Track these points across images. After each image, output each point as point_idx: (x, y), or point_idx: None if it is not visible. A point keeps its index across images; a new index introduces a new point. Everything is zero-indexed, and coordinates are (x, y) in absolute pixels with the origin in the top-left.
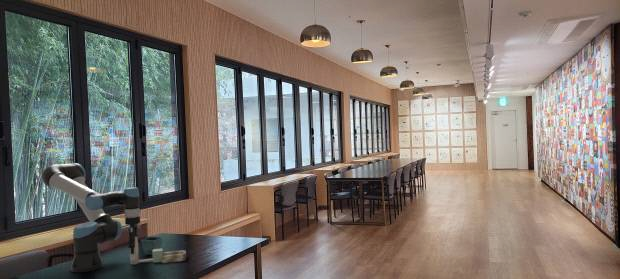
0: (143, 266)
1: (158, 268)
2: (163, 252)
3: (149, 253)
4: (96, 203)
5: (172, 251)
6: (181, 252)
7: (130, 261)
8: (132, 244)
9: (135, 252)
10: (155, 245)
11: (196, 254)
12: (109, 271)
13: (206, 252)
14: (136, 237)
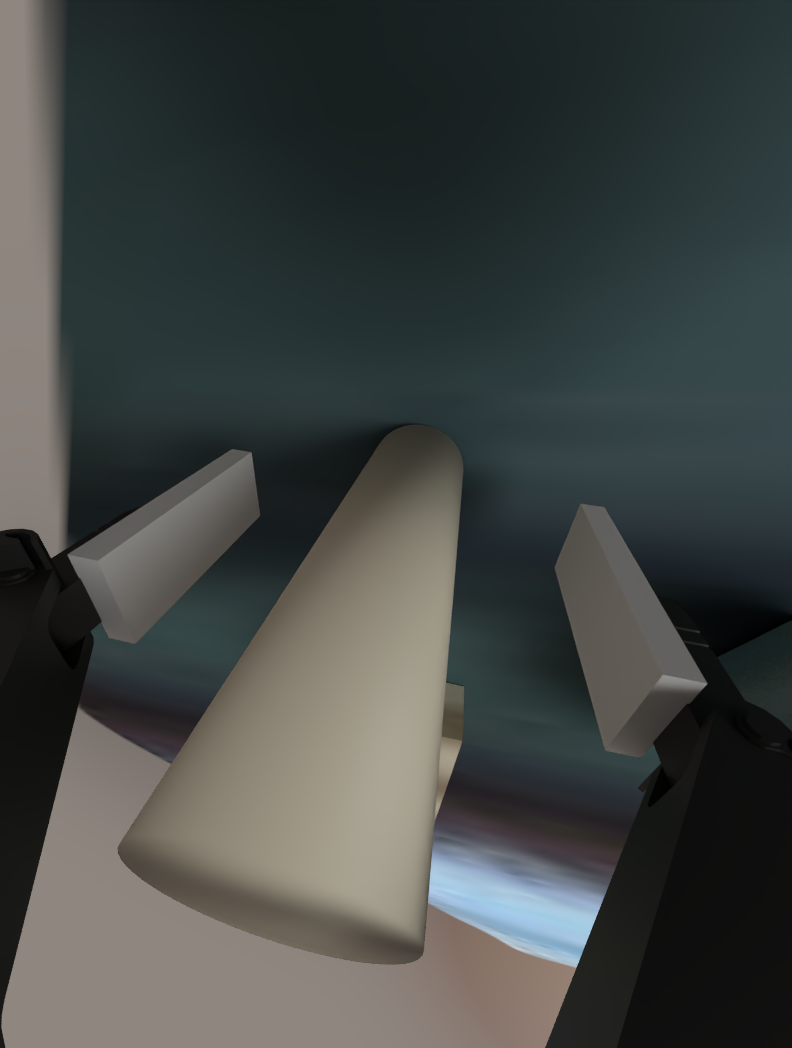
0: (273, 534)
1: (183, 612)
2: (458, 741)
3: (751, 651)
4: None
5: (447, 780)
6: None
7: (407, 435)
8: (50, 657)
9: (203, 571)
10: None
11: (450, 808)
12: (146, 106)
13: (464, 839)
14: (225, 921)
